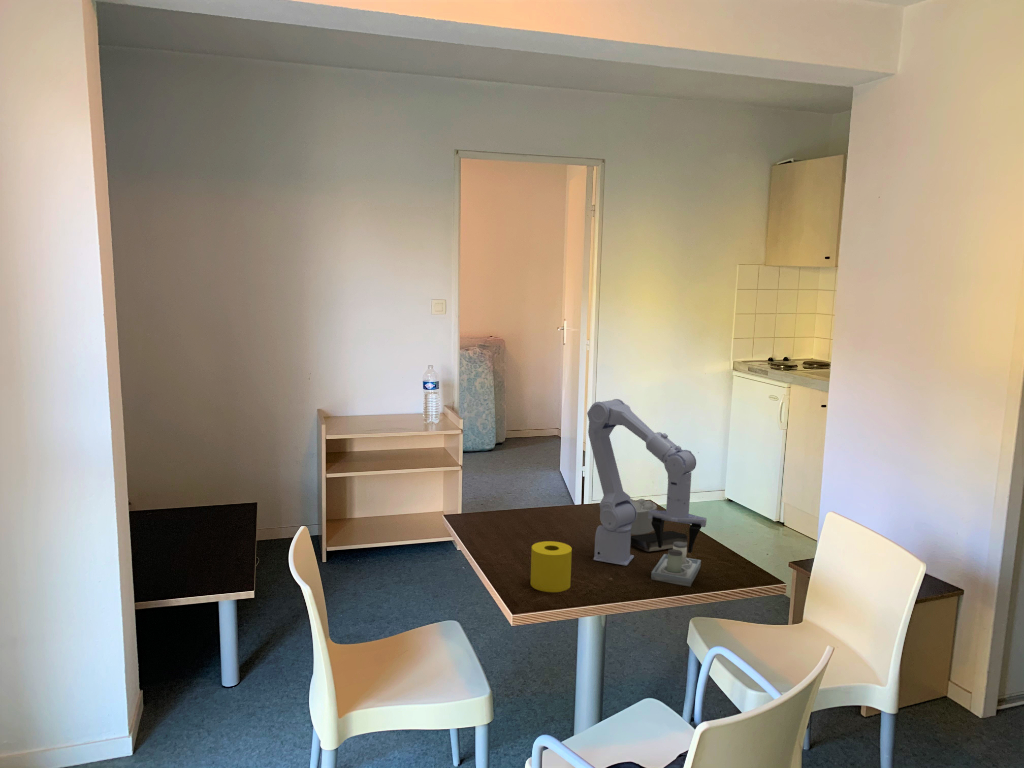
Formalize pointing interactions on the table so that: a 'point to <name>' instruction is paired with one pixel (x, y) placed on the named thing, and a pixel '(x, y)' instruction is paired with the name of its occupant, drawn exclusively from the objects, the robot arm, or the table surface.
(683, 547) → the jaw peg ivory
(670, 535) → the black sponge
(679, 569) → the pale green lidded jar
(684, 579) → the tray
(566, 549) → the yellow cylinder with hole
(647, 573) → the table surface
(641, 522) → the lumpy-topped squat cylinder
